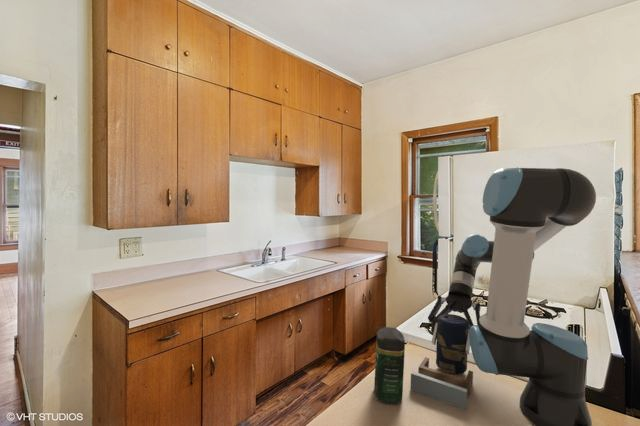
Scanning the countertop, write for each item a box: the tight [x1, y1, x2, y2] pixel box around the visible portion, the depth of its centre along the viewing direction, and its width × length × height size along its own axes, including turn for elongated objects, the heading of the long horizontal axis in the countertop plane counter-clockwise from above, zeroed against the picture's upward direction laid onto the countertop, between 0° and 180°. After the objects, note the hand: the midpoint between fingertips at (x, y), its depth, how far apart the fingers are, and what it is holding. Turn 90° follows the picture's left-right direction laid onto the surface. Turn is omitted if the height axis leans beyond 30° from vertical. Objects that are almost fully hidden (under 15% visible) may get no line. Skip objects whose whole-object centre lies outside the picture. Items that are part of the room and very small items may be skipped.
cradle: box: [417, 356, 474, 398], centre depth 97 cm, size 14×8×4 cm, turn 56°
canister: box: [435, 313, 470, 375], centre depth 103 cm, size 10×10×18 cm
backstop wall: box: [409, 370, 468, 411], centre depth 89 cm, size 15×2×5 cm, turn 56°
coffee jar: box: [373, 326, 406, 405], centre depth 90 cm, size 10×8×19 cm
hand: (449, 347), depth 101 cm, fingers closed on canister, 9 cm apart
